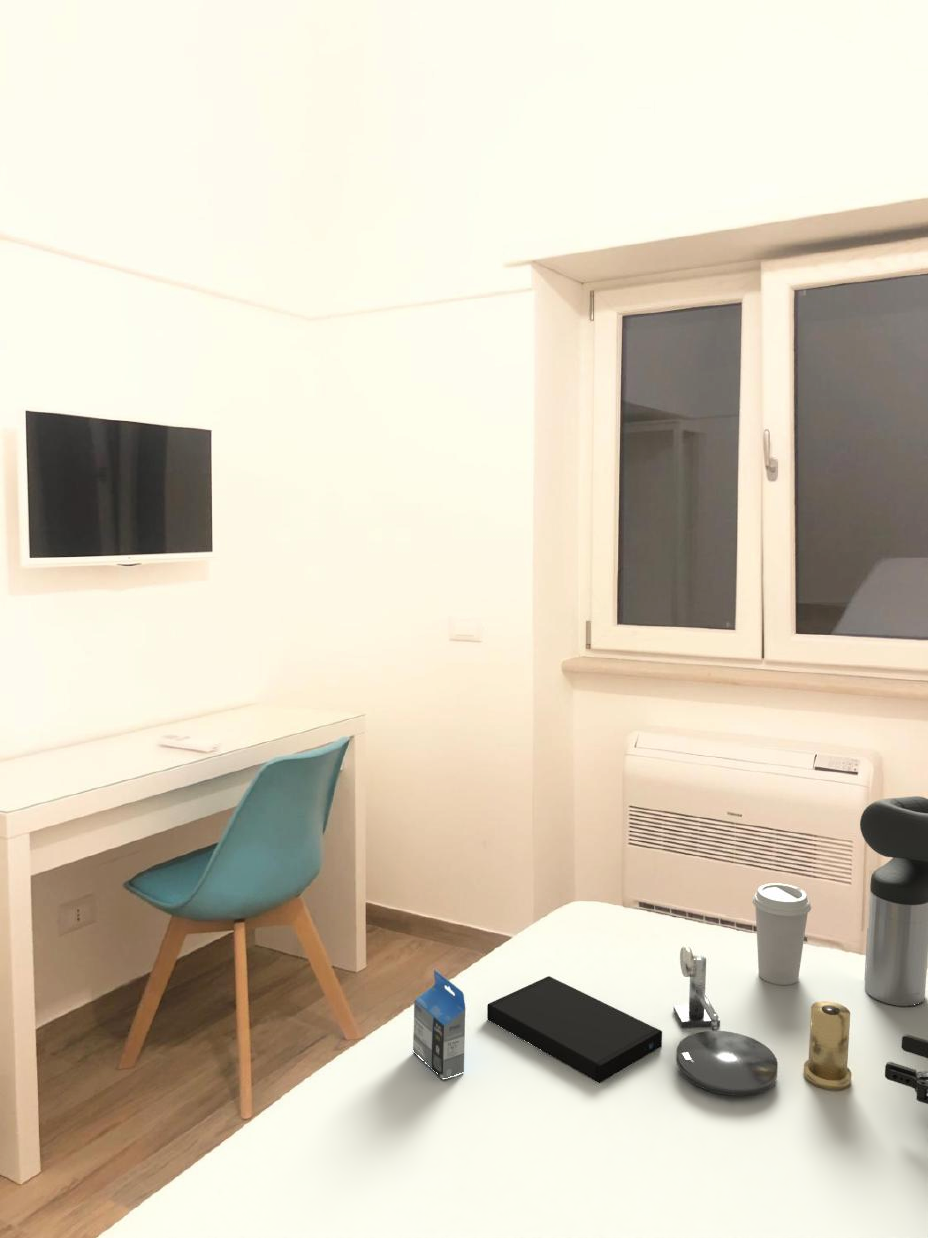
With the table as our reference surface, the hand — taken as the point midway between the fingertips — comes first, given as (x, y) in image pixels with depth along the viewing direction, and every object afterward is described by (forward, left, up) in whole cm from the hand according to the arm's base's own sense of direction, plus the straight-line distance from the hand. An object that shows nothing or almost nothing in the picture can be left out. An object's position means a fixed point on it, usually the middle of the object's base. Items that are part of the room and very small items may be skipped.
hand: (894, 1055), depth 141 cm
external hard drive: (-20, -41, -7) cm, 46 cm away
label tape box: (-13, -62, -7) cm, 63 cm away
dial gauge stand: (-19, -21, -7) cm, 29 cm away
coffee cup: (-36, -3, -7) cm, 36 cm away
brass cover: (-6, -7, -7) cm, 11 cm away
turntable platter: (-8, -21, -7) cm, 23 cm away
